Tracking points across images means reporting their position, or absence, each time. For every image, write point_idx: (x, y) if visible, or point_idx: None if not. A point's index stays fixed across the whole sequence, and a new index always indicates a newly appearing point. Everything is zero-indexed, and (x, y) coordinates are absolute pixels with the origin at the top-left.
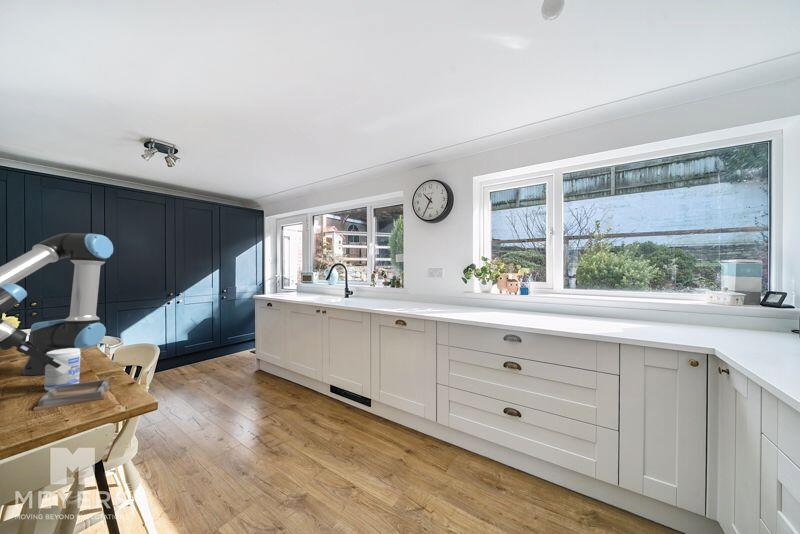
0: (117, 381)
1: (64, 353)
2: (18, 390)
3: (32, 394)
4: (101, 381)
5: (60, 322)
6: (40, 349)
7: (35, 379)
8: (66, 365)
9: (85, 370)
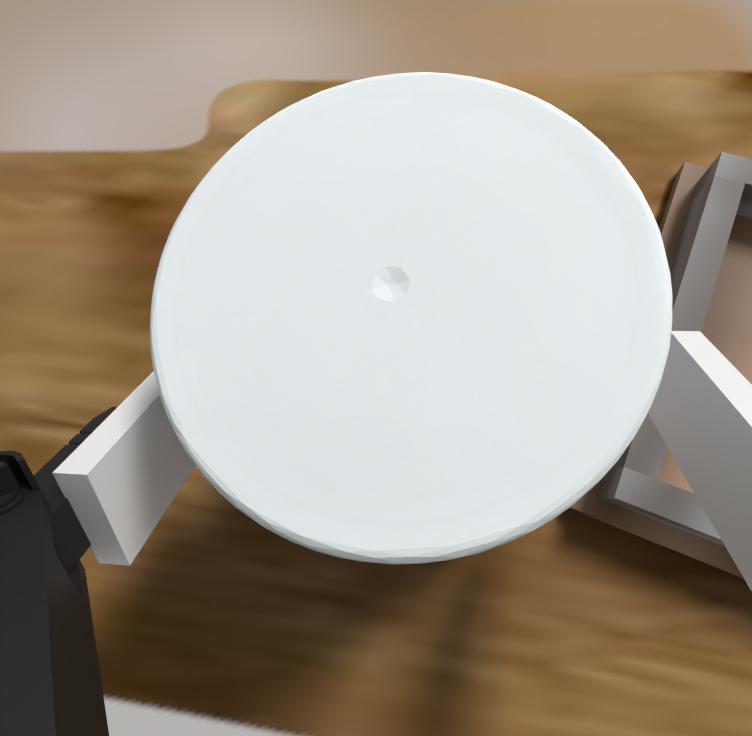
0: (607, 131)
1: (671, 314)
2: (242, 648)
3: (468, 602)
4: (734, 202)
5: None
6: (53, 634)
7: None
8: (731, 367)
9: (76, 226)
